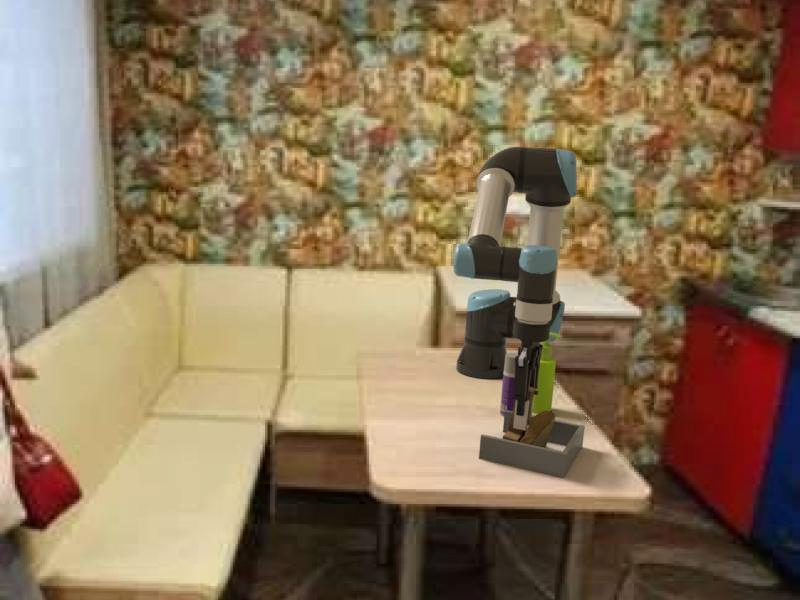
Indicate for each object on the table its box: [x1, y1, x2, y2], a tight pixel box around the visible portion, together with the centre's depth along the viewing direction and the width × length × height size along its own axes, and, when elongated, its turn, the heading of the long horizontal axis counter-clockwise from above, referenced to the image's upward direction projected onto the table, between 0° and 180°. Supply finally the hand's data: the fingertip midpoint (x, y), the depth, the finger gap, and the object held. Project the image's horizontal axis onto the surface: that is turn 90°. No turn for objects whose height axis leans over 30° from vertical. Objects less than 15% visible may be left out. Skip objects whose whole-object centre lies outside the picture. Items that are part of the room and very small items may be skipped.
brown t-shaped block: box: [502, 387, 535, 442], centre depth 170 cm, size 10×3×14 cm, turn 154°
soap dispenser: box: [532, 332, 564, 415], centre depth 194 cm, size 6×7×20 cm
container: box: [499, 352, 518, 417], centre depth 191 cm, size 5×5×15 cm
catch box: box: [478, 410, 586, 478], centre depth 170 cm, size 18×18×5 cm
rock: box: [520, 409, 556, 448], centre depth 169 cm, size 11×9×10 cm
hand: (522, 425), depth 170 cm, fingers closed on brown t-shaped block, 3 cm apart
